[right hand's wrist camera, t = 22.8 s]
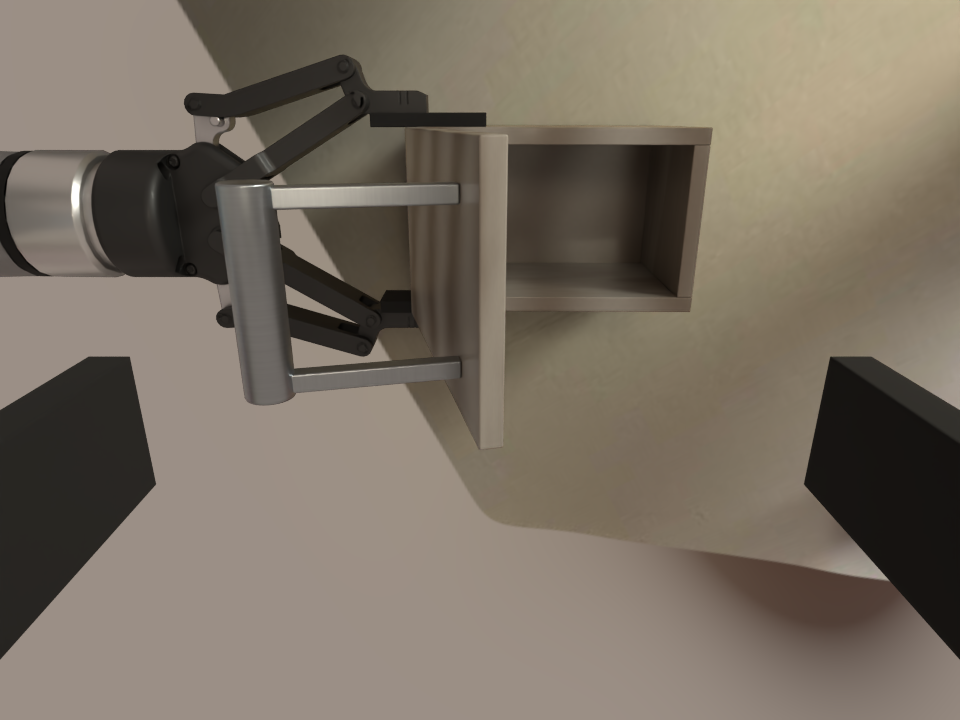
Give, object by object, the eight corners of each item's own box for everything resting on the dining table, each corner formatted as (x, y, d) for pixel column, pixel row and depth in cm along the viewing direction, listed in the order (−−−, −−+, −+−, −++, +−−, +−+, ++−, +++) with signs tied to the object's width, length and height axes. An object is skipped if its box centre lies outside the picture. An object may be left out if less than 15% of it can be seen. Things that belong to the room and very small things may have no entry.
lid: (508, 134, 18) (189, 135, 16) (503, 448, 22) (241, 478, 20) (421, 127, 34) (250, 127, 32) (426, 312, 37) (273, 322, 35)
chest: (662, 125, 43) (713, 127, 34) (648, 272, 47) (690, 312, 37) (430, 125, 44) (413, 127, 34) (433, 271, 47) (420, 310, 37)
